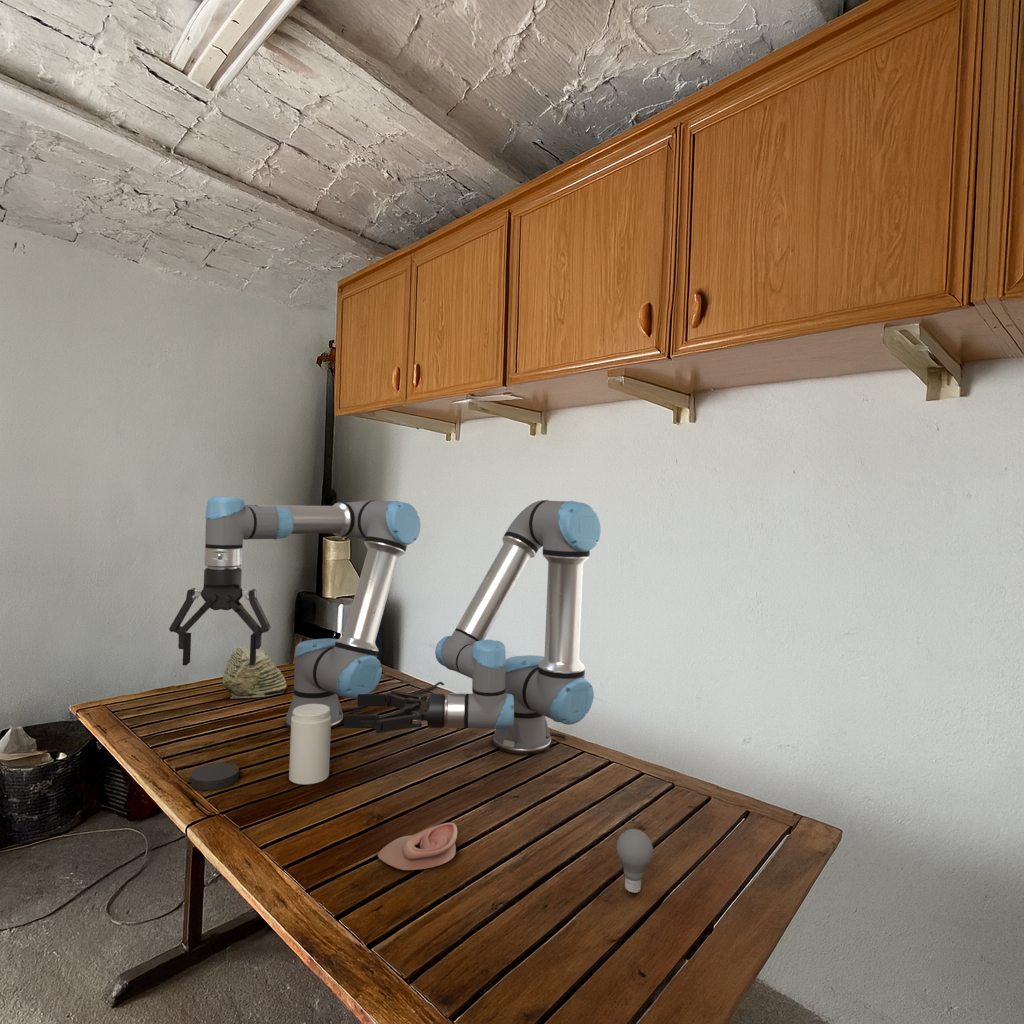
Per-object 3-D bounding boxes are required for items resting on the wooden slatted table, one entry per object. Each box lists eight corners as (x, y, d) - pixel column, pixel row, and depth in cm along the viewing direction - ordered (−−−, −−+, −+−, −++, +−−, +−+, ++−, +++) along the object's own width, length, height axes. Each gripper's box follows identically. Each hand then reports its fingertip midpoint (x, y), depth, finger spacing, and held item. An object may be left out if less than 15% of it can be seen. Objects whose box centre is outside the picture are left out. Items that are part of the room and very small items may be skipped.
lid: (180, 788, 135) (181, 779, 135) (205, 769, 144) (205, 761, 144) (225, 791, 134) (225, 782, 134) (246, 772, 144) (246, 763, 144)
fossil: (218, 695, 195) (220, 647, 195) (278, 685, 208) (279, 640, 207) (228, 703, 189) (230, 653, 188) (289, 692, 201) (290, 645, 201)
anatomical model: (371, 842, 110) (396, 811, 121) (370, 865, 110) (395, 831, 121) (444, 854, 107) (463, 821, 118) (443, 877, 107) (462, 842, 118)
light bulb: (610, 879, 108) (613, 822, 108) (644, 879, 109) (647, 822, 109) (619, 902, 102) (622, 840, 102) (655, 901, 103) (658, 840, 103)
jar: (280, 780, 141) (283, 712, 140) (305, 765, 149) (308, 701, 149) (312, 787, 138) (315, 718, 138) (336, 772, 146) (339, 706, 146)
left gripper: (155, 567, 132) (151, 668, 133) (280, 570, 137) (276, 667, 138) (167, 564, 140) (164, 659, 140) (285, 566, 145) (282, 658, 145)
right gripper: (441, 750, 131) (337, 749, 130) (449, 707, 156) (362, 707, 155) (441, 714, 131) (338, 713, 130) (449, 677, 156) (362, 677, 155)
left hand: (219, 663), depth 139 cm, fingers open, 13 cm apart
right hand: (351, 710), depth 143 cm, fingers open, 13 cm apart
